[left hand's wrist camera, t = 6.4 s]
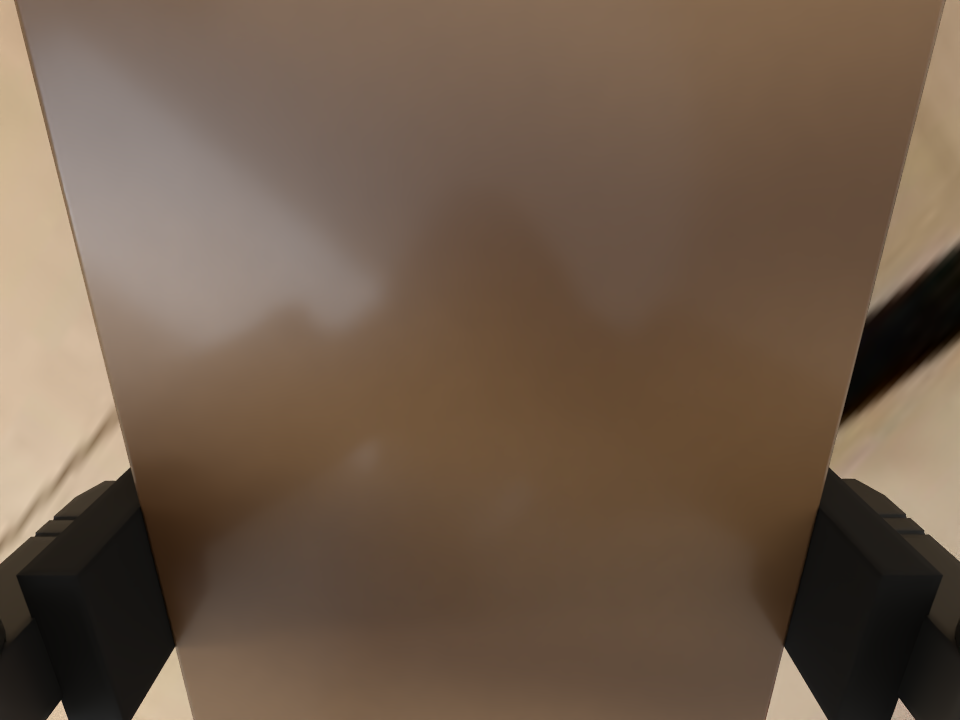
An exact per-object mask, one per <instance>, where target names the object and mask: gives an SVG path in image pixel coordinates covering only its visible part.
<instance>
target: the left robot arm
mask: <svg viewBox="0 0 960 720" xmlns="http://www.w3.org/2000/svg"><path fill="white" fill-rule="evenodd" d="M784 647H785V649H786V650H787V652H788V654H789V655H790V657H791V659H792V660H793V662H794V664H795V665H796V667H797V669H798V670H799V672H800V674H801V675H802V677H803V679H804V680H805V682H806V684H807V685H808V687H809V689H810V690H811V692H812V694H813V695H814V697H815V699H816V700H817V702H818V704H819V705H820V707H821V709H822V710H823V712H824V714H825V715H826V717H827V719H828V720H891V718H892V715H893V712H894V709H895V707H896V704H897V701H898V698H900V700H901V701H902V702H903V704H904V705H905V706H906V708H907V709H908V710H909V712H910V713H911V714H912V716H913V717H914V718H915V720H960V561H958V560H957V559H956V558H955V557H954V556H953V555H952V554H950V553H949V552H948V551H947V550H946V549H945V548H944V547H943V546H941V545H940V544H939V543H938V542H937V541H936V540H935V539H933V538H932V537H931V536H930V535H925V533H924V530H923V529H922V528H921V527H920V526H919V525H918V524H916V523H915V522H914V521H913V520H912V519H911V518H906V514H905V513H904V512H903V511H902V510H901V509H900V508H898V507H897V506H896V505H895V504H894V503H893V502H892V501H890V500H889V499H888V498H887V497H886V496H885V495H883V494H881V493H880V492H878V491H876V490H874V489H872V488H870V487H869V486H867V485H865V484H863V483H861V482H859V481H858V480H856V479H841V478H840V477H839V476H838V475H836V474H835V473H834V472H833V471H832V470H831V469H830V468H828V472H827V476H826V480H825V484H824V488H823V492H822V496H821V500H820V504H819V508H818V512H817V516H816V520H815V524H814V528H813V532H812V536H811V540H810V544H809V548H808V552H807V556H806V560H805V564H804V568H803V572H802V576H801V580H800V584H799V588H798V592H797V596H796V600H795V604H794V608H793V612H792V616H791V620H790V624H789V628H788V632H787V636H786V640H785V644H784ZM174 648H175V643H174V639H173V635H172V631H171V627H170V623H169V619H168V615H167V611H166V607H165V603H164V599H163V595H162V591H161V587H160V583H159V579H158V575H157V571H156V567H155V563H154V559H153V555H152V551H151V547H150V543H149V539H148V535H147V531H146V527H145V523H144V519H143V515H142V511H141V507H140V503H139V499H138V495H137V491H136V487H135V483H134V479H133V475H132V471H131V467H130V468H129V469H128V470H127V471H126V472H125V473H124V474H123V475H122V476H121V477H120V478H119V479H118V480H116V481H104V482H102V483H100V484H99V485H97V486H95V487H93V488H91V489H90V490H88V491H86V492H84V493H82V494H80V495H79V496H77V497H75V498H74V499H73V500H72V501H71V502H70V503H68V504H67V505H66V506H65V507H64V508H63V509H62V510H61V511H59V512H58V513H57V514H56V515H55V516H54V520H49V521H48V522H47V523H46V524H45V525H44V526H43V527H41V528H40V529H39V530H38V531H37V532H36V535H35V537H30V538H29V539H28V540H27V541H26V542H25V543H23V544H22V545H21V546H20V547H19V548H18V549H17V550H16V551H14V552H13V553H12V554H11V555H10V556H9V557H8V558H7V559H5V560H4V561H3V562H2V563H1V564H0V720H46V719H47V718H48V717H49V715H50V714H51V713H52V711H53V710H54V709H55V707H56V706H57V705H58V703H59V702H60V701H62V703H63V706H64V709H65V712H66V714H67V717H68V720H131V719H132V718H133V716H134V714H135V713H136V711H137V709H138V708H139V706H140V704H141V703H142V701H143V699H144V698H145V696H146V694H147V693H148V691H149V689H150V688H151V686H152V684H153V683H154V681H155V679H156V678H157V676H158V674H159V673H160V671H161V669H162V668H163V666H164V664H165V663H166V661H167V659H168V658H169V656H170V654H171V653H172V651H173V649H174Z"/></svg>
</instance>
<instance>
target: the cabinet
mask: <svg viewBox="0 0 960 720" xmlns="http://www.w3.org/2000/svg"><path fill="white" fill-rule="evenodd" d="M14 1H15V5H16V9H17V13H18V17H19V21H20V25H21V29H22V33H23V37H24V41H25V45H26V49H27V53H28V57H29V62H30V66H31V70H32V74H33V78H34V82H35V86H36V90H37V94H38V98H39V102H40V106H41V110H42V114H43V118H44V122H45V126H46V130H47V134H48V138H49V142H50V146H51V150H52V154H53V158H54V162H55V166H56V170H57V174H58V178H59V182H60V186H61V190H62V194H63V198H64V202H65V206H66V210H67V214H68V218H69V222H70V226H71V230H72V234H73V238H74V242H75V246H76V250H77V254H78V258H79V262H80V266H81V270H82V274H83V278H84V282H85V286H86V290H87V294H88V298H89V302H90V306H91V310H92V314H93V318H94V322H95V326H96V330H97V334H98V338H99V342H100V346H101V350H102V354H103V358H104V362H105V366H106V370H107V374H108V378H109V382H110V386H111V390H112V394H113V399H114V403H115V407H116V411H117V415H118V419H119V423H120V427H121V431H122V435H123V439H124V443H125V447H126V451H127V455H128V459H129V463H130V467H131V471H132V475H133V479H134V483H135V487H136V491H137V495H138V499H139V503H140V507H141V511H142V515H143V519H144V523H145V527H146V531H147V535H148V539H149V543H150V547H151V551H152V555H153V559H154V563H155V567H156V571H157V575H158V579H159V583H160V587H161V591H162V595H163V599H164V603H165V607H166V611H167V615H168V619H169V623H170V627H171V631H172V635H173V639H174V643H175V647H176V651H177V655H178V659H179V663H180V667H181V671H182V675H183V679H184V683H185V687H186V691H187V695H188V699H189V703H190V707H191V711H192V715H193V719H194V720H766V716H767V712H768V708H769V704H770V700H771V696H772V692H773V688H774V684H775V680H776V676H777V672H778V668H779V664H780V660H781V656H782V652H783V648H784V644H785V640H786V636H787V632H788V628H789V624H790V620H791V616H792V612H793V608H794V604H795V600H796V596H797V592H798V588H799V584H800V580H801V576H802V572H803V568H804V564H805V560H806V556H807V552H808V548H809V544H810V540H811V536H812V532H813V528H814V524H815V520H816V516H817V512H818V508H819V504H820V500H821V496H822V492H823V488H824V484H825V480H826V476H827V472H828V468H829V464H830V460H831V456H832V452H833V448H834V444H835V440H836V436H837V432H838V428H839V424H840V420H841V416H842V412H843V408H844V404H845V400H846V396H847V392H848V388H849V384H850V380H851V376H852V372H853V368H854V364H855V360H856V356H857V352H858V348H859V344H860V340H861V336H862V332H863V328H864V324H865V320H866V316H867V312H868V308H869V304H870V300H871V296H872V292H873V288H874V284H875V280H876V276H877V272H878V268H879V264H880V260H881V256H882V252H883V248H884V244H885V240H886V236H887V232H888V228H889V224H890V220H891V216H892V212H893V208H894V204H895V200H896V196H897V192H898V188H899V184H900V180H901V176H902V172H903V168H904V164H905V160H906V156H907V152H908V148H909V144H910V140H911V136H912V132H913V128H914V124H915V120H916V116H917V112H918V108H919V104H920V100H921V96H922V92H923V88H924V84H925V80H926V76H927V72H928V68H929V64H930V60H931V56H932V52H933V48H934V44H935V40H936V36H937V32H938V28H939V24H940V20H941V16H942V12H943V8H944V4H945V0H14Z"/></svg>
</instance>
